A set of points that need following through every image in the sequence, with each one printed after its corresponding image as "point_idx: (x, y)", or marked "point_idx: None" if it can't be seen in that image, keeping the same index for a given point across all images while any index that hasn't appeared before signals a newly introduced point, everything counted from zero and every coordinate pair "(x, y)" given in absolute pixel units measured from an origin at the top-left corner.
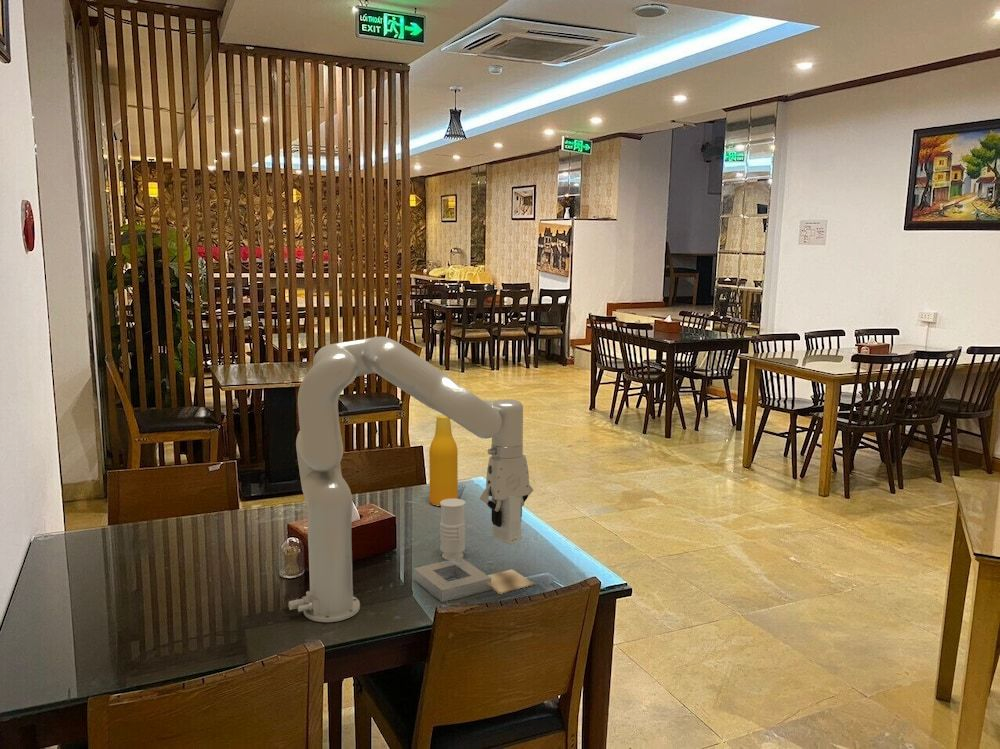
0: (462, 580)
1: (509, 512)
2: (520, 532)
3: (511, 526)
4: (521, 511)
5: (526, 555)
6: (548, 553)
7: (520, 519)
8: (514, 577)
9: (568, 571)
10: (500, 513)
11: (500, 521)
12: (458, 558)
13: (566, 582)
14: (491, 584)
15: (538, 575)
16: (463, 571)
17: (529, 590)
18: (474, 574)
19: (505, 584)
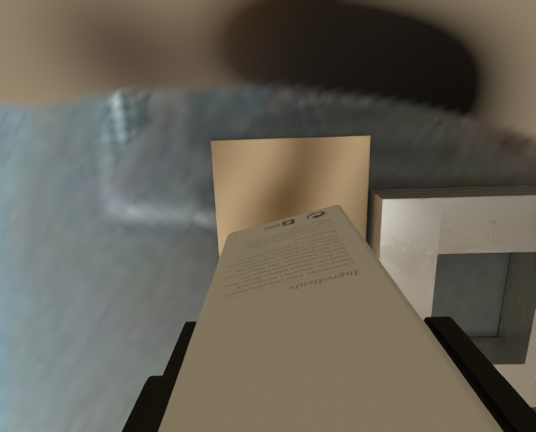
0: (493, 234)
1: (449, 362)
2: (226, 252)
3: (349, 255)
4: (129, 427)
5: (110, 365)
6: (31, 345)
7: (207, 311)
8: (250, 221)
9: (30, 184)
10: (526, 430)
11: (459, 347)
12: None
13: (83, 102)
14: (357, 211)
15: (152, 209)
16: (429, 309)
17: (249, 112)
18: (419, 259)
19: (312, 186)
